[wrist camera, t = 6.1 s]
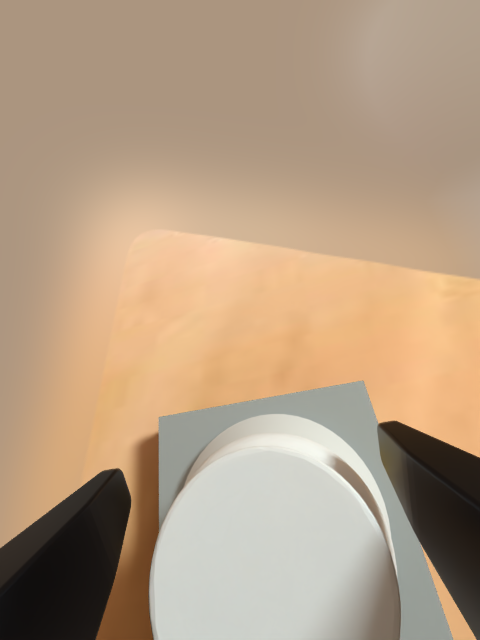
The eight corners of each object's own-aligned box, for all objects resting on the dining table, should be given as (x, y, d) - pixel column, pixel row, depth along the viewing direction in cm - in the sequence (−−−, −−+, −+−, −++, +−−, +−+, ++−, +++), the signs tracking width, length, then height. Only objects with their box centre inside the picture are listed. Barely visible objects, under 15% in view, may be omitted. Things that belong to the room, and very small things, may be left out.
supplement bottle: (229, 447, 15) (158, 387, 7) (348, 466, 14) (442, 424, 6) (205, 590, 13) (48, 777, 4) (346, 626, 12) (501, 955, 3)
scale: (485, 778, 11) (530, 843, 9) (179, 808, 12) (152, 875, 10) (357, 392, 19) (365, 376, 16) (171, 425, 19) (154, 414, 17)
